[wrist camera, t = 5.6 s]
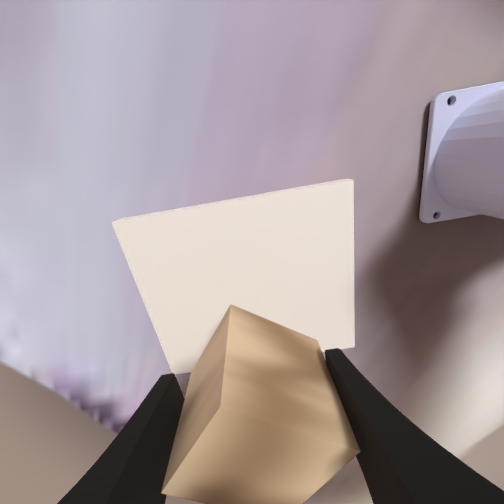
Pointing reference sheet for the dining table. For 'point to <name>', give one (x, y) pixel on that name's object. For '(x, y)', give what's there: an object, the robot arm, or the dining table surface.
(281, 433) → the oak cube
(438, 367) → the dining table surface
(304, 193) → the painted board
